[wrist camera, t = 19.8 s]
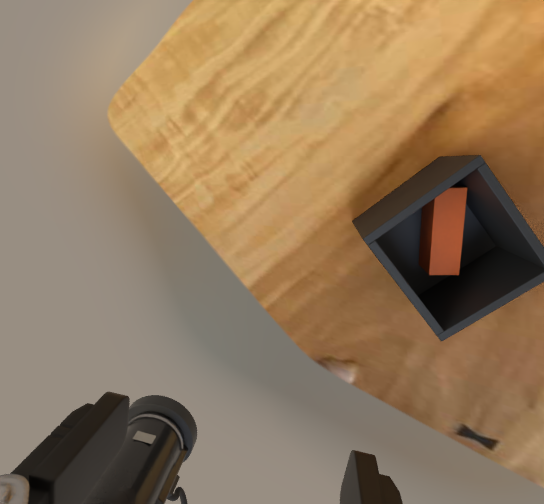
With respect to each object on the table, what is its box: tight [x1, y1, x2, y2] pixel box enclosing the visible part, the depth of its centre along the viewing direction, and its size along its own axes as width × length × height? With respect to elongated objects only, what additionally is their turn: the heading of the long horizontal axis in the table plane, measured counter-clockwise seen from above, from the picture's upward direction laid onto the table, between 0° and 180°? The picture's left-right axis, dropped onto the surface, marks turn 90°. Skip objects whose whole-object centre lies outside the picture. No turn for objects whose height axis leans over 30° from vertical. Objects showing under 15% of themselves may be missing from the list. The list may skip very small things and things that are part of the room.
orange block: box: [418, 185, 467, 275], centre depth 37 cm, size 4×3×9 cm
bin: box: [352, 155, 544, 341], centre depth 36 cm, size 13×12×10 cm
